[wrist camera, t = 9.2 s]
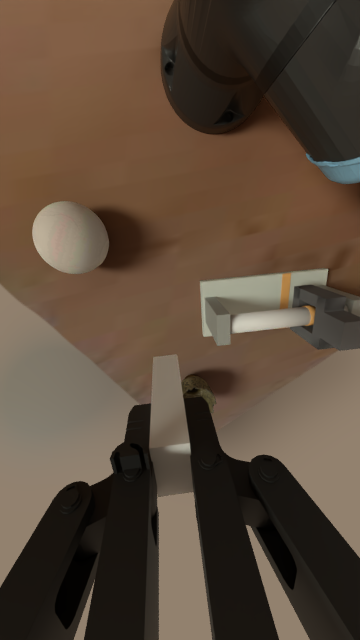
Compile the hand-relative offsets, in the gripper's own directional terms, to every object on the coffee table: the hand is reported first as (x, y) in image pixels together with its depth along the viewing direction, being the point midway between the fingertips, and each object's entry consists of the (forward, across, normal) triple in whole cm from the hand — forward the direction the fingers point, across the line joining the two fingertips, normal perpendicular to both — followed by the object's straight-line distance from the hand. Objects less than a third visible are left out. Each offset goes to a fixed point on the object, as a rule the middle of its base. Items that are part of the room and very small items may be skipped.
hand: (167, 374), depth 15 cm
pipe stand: (+29, +19, -6) cm, 36 cm away
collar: (+24, +24, -6) cm, 35 cm away
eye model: (+30, -12, +9) cm, 33 cm away
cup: (+30, +4, -22) cm, 37 cm away
